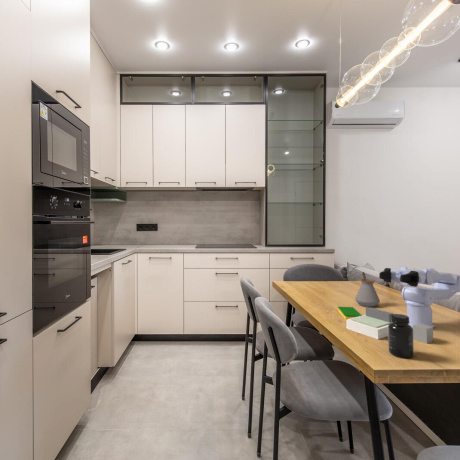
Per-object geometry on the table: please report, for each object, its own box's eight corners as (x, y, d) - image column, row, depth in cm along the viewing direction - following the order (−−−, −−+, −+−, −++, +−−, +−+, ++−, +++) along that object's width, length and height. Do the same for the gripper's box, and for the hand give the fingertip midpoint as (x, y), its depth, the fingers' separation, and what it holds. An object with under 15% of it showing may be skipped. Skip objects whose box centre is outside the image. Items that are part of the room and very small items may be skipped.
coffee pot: (381, 309, 138) (381, 278, 138) (356, 307, 142) (356, 277, 142) (374, 298, 158) (374, 272, 158) (352, 297, 162) (352, 271, 162)
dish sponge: (345, 320, 123) (345, 315, 123) (337, 311, 136) (337, 306, 136) (362, 321, 122) (362, 315, 122) (353, 312, 135) (353, 306, 135)
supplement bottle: (404, 349, 92) (404, 312, 92) (418, 358, 86) (418, 319, 86) (383, 349, 92) (383, 312, 92) (396, 359, 85) (396, 319, 85)
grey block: (419, 336, 103) (419, 323, 103) (433, 341, 99) (433, 326, 99) (412, 339, 101) (412, 325, 101) (426, 343, 97) (426, 329, 97)
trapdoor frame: (368, 322, 119) (368, 313, 119) (400, 331, 108) (399, 322, 108) (346, 328, 112) (346, 319, 112) (378, 339, 101) (378, 329, 100)
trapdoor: (369, 316, 117) (368, 307, 117) (394, 323, 108) (394, 313, 108) (351, 320, 111) (351, 311, 111) (377, 328, 102) (376, 318, 102)
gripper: (391, 264, 117) (372, 264, 110) (431, 268, 104) (411, 268, 97) (391, 281, 117) (371, 282, 110) (430, 287, 104) (411, 288, 97)
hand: (390, 277), depth 104 cm, fingers open, 7 cm apart
